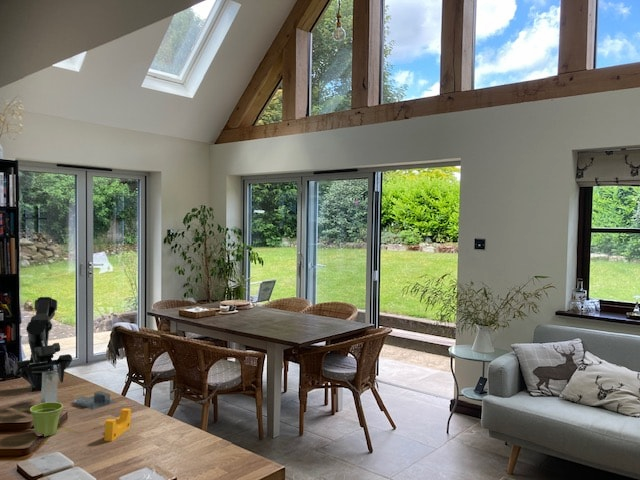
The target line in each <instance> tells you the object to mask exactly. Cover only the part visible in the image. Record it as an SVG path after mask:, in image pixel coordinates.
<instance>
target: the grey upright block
mask: <svg viewBox="0 0 640 480" xmlns="http://www.w3.org/2000/svg"><path fill="white" fill-rule="evenodd" d="M58 384H59V375H58V372H57V370H54V371H47V372H42V390H40V391H41V392H40V393H41V397H40V404H41V403H47V402H57V403H58V387H59V386H58Z"/></svg>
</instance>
